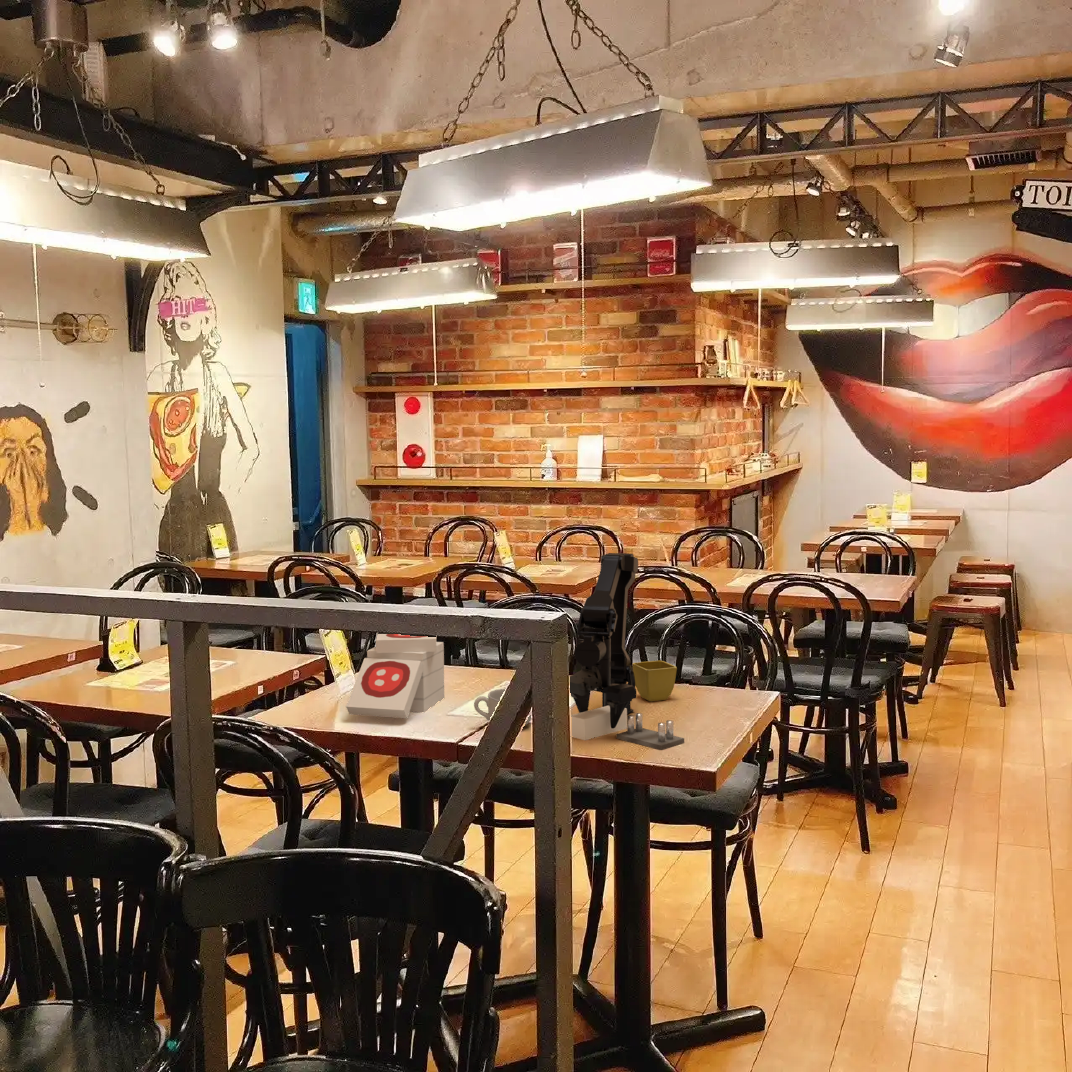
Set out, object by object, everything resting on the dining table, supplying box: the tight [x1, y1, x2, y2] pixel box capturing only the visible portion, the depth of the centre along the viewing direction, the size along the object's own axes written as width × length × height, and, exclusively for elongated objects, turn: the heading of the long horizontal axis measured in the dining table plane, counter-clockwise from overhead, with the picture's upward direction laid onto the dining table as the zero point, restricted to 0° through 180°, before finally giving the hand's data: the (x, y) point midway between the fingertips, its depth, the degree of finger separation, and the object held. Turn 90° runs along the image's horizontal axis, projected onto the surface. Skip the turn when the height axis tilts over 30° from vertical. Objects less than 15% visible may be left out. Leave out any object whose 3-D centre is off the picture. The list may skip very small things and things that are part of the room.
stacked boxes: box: [345, 633, 445, 719], centre depth 281 cm, size 19×30×18 cm, turn 165°
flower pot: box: [631, 659, 678, 703], centre depth 290 cm, size 9×9×9 cm
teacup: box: [473, 687, 532, 725], centre depth 265 cm, size 14×11×8 cm
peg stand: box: [616, 712, 685, 751], centre depth 252 cm, size 13×8×5 cm, turn 44°
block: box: [570, 705, 628, 741], centre depth 259 cm, size 14×5×5 cm, turn 133°
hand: (598, 724), depth 259 cm, fingers open, 9 cm apart
